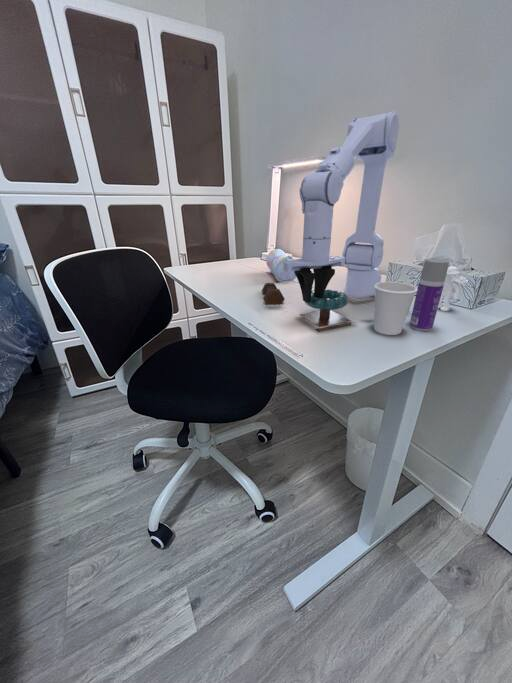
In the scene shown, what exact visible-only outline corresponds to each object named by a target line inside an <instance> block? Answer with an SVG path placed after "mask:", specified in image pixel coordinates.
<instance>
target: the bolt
mask: <svg viewBox="0 0 512 683" xmlns="http://www.w3.org/2000/svg"><path fill="white" fill-rule="evenodd" d="M261 292H262V293H263V295H264V296H263V298H262V299H263V301H264V304H265V305H266V306H276V305H277V306H279V305H283V304H284V302H285V297H284V295H283V293H282V291H281V290H280V288H278V287H277V285H276V284H275V282H266V283H264V285H263V287H262V289H261Z"/></svg>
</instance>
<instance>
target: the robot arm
mask: <svg viewBox="0 0 512 683" xmlns="http://www.w3.org/2000/svg"><path fill="white" fill-rule="evenodd" d="M399 129H400V125H399V116H398V114H397V112H396V111H395V110H391V111H389V112H385V113H380V114H375V115H370V116H369V115H368V116H365V117H355V118H353V119H352V120H351V121H350V123H349V124H348V126H347V135H346V138H345V140H344V142H343V143H342V144H341V145H340V146H336V147H335V146H334V147H332V148H330V150H329V153H328V154H327V155H326V157H325V158H324V160H323V161H322V162H321V163H320V164H319V166H318V167H317V168H316V170H315V171H313V172H309V173H307V174H306V175H305V176H304V177H303V178H302V180H301V183H300V188H298V189H299V191H298V192H299V199H300V202H301V211H302V214H303V235H302V252H301V258H297V259H294V260H291V261H284V263H283V271H285V272H292V271H294V273H295V275H296V280H297V281H298V282H297V283H298V284H299V288H300V291H301V295H302V297H301V298H302V301H303V302H304V301H305V302H307V303H309V302H310V301H311V294H312V291H313V290H314V297H316V298H323V295H324V292H325V290H327V287H328V285H329V283H330V282H331V280H332V278H333V277H334V276H335V274H336V269H335V268H333V267H344V268H346V277H345V285H344V286H345V287H344V294H346V295H347V297H348V298H355V299H366V298H370V297H373V296H374V297H375V287H374V286H375V284H377V283H380V282H382V273H381V271H380V269H379V268H378V267H380V265H381V264H382V261H383V258H384V239H383V238H382V237H381V236H380V235H379V234H378V233H377V232H376V227H377V226H376V225H377V221H378V220H377V219H378V213H379V209H380V208H379V207H380V201H381V195H382V189H383V182H384V176H385V170H386V166H387V163H388V162H387V161H388V160H390V159H391V158H392V157H393V156H394V155H395V150H396V148H397V142H398V135H399ZM355 159H356V160H357V161H359V162H362V163H363V166H364V169H363V175H362V184H361V192H360V198H359V205H358V212H357V219H356V227H355V232H354V233H352V234H350V235H349V236H348V237H347V238H346V240H345V242H344V243H345V245H344V247H343V250H342V254H341V256H340V255H337V256H330V254H331V252H330V251H331V241H332V231H333V221H334V220H333V219H334V208H335V204H336V203H338V202H339V200H340V197H341V194H342V189H343V188H344V185H345V184H344V183H345V181H346V180H347V178H348V176H349V175H350V174H351V172H352V171H353V169H354V168H355ZM313 285H314V287H313ZM305 302H304V303H305Z"/></svg>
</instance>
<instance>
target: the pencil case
mask: <svg viewBox="0 0 512 683" xmlns="http://www.w3.org/2000/svg"><path fill="white" fill-rule="evenodd" d="M291 260H295V259H294V258H293V257H292V256H290V255H286V253H285V251H284V250H282V248H276V249H273V250H270V251H269V253H268V254H267V256H266V259H265V263H266V266H267V268H268V269H269V271H270V272H271V273H272V275H273V276H274V277H275V279H276V280H277V281H278V282H280V283H288V282H294V281H295V279H297V277H296V275H295V273H294V271H292V272H285V271H283V263H284V261H291Z"/></svg>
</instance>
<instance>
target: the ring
mask: <svg viewBox="0 0 512 683" xmlns="http://www.w3.org/2000/svg"><path fill="white" fill-rule="evenodd" d="M349 301H350V300H349V296H347V295H346V294H345V292H342V291H339V290H333V289H325V292H324V295H323V298H316V297H314V289H312V294H311V301H310V302H309V303H307V302H305V301H303V302H304V304H306V306H308V307H310V308H313V309H317V310H320V309H321V310H331V311H334V310H338V309H343V308H344V307H345V306H347V305H348V304H349Z"/></svg>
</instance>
